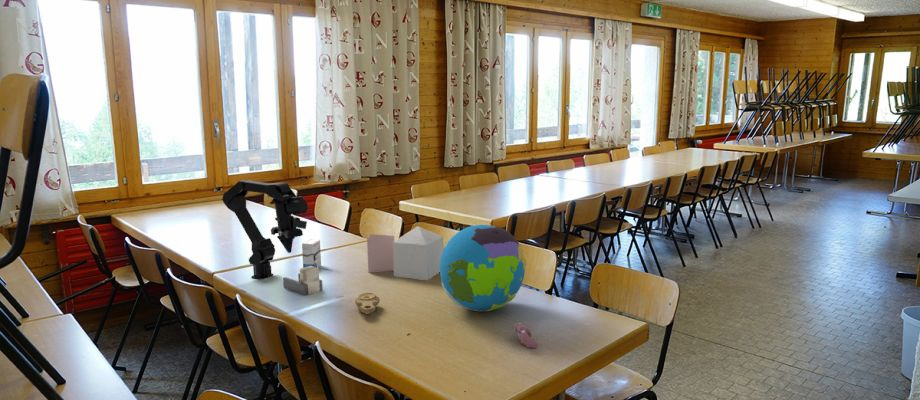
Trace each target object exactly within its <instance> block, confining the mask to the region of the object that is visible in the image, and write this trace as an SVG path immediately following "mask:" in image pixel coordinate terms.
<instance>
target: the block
mask: <svg viewBox="0 0 920 400" xmlns="http://www.w3.org/2000/svg"><path fill="white" fill-rule="evenodd" d="M319 269H320V268H319V267H318V268H316V267H313V266H308V267H305V268H303V267H302V268H299V273H300V282H301V283H304V284H307V293H308V295H312V294H315V293H319V292H321V291H320V284H319V279H320V270H319ZM308 295H307V296H308Z"/></svg>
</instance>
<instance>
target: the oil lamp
mask: <svg viewBox="0 0 920 400" xmlns="http://www.w3.org/2000/svg"><path fill="white" fill-rule="evenodd" d="M380 300H381V299H380V297H379V296H378V295H376V294H375V293H374V292H365V293H361V294H358V295H357V296H356V297H355V298H354V303H355V305H356V306H357V307H358V308H359V309H360V311H361V313H363V314H366V315H369V314H372V313H374V312H375V311H376V307H377V306H378V305H379V303H380Z"/></svg>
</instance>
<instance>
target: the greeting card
mask: <svg viewBox="0 0 920 400" xmlns="http://www.w3.org/2000/svg"><path fill="white" fill-rule="evenodd" d="M394 241H395V235H389V234H387V235H385V234H374V233H369V237H367V238H366V242H367V243H366V245H367V246H366V247H367V250H366V251H367V269H368V270H367V272H368V273H377V272H389V271H394V261H393V243H394Z"/></svg>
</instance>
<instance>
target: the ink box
mask: <svg viewBox="0 0 920 400" xmlns="http://www.w3.org/2000/svg"><path fill="white" fill-rule="evenodd" d="M301 250H302V251H301V253H302V268H305V267H308V266H313V267H316V268H319V267H321V266H322V255H321V253H322V252H321V240H320V239H313V238H310V239H309V238H308V240H306V241H304V242H302V244H301Z"/></svg>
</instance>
